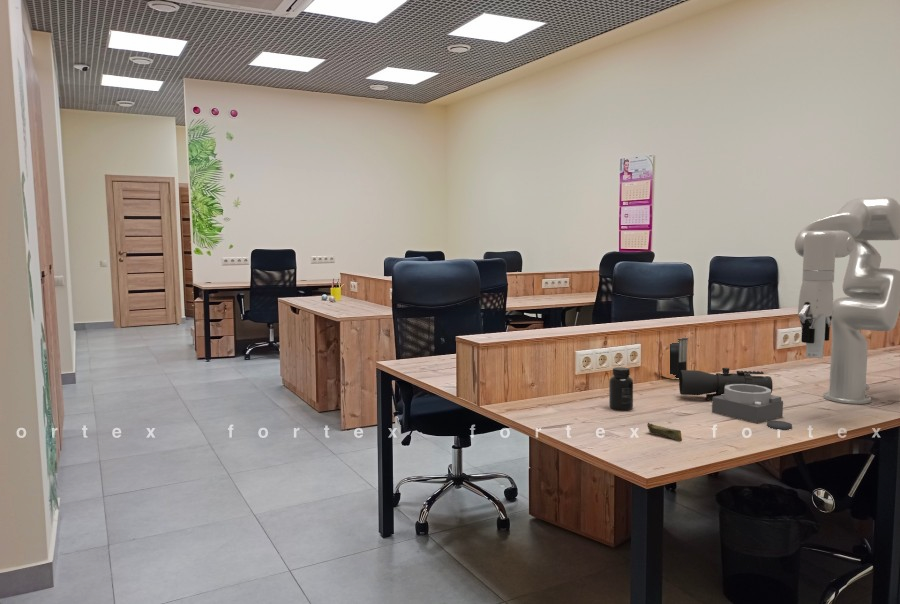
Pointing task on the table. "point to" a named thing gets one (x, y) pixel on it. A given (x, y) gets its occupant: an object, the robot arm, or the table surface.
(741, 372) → the rifle scope
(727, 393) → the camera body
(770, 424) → the lens cap
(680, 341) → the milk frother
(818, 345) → the skincare box
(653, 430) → the snack bar
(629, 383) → the supplement bottle
